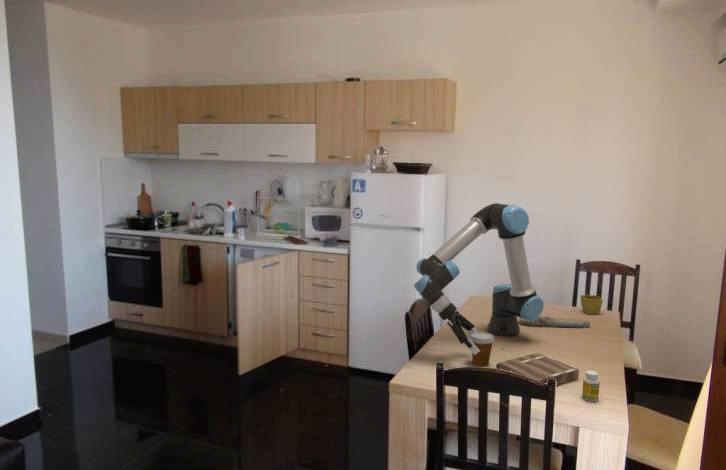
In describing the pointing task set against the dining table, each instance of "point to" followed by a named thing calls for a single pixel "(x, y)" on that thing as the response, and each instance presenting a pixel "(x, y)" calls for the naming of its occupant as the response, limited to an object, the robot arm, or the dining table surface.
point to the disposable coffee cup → (482, 348)
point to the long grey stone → (555, 322)
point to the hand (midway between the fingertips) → (479, 347)
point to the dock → (541, 368)
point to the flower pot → (591, 304)
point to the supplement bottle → (591, 386)
